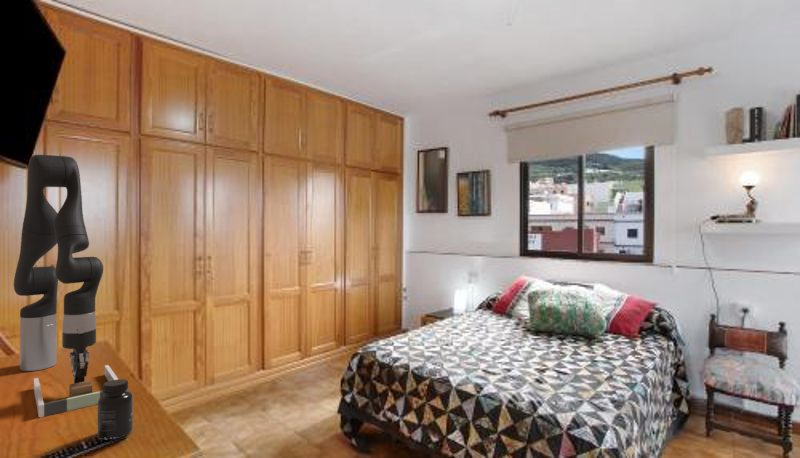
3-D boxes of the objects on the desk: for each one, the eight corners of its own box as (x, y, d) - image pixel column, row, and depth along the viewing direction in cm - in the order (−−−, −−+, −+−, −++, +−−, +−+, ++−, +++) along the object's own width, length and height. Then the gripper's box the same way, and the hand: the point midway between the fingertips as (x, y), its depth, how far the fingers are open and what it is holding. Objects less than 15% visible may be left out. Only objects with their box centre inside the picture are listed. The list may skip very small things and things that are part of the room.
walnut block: (69, 400, 115) (69, 384, 115) (89, 396, 118) (89, 380, 118) (71, 406, 111) (71, 389, 111) (92, 401, 114) (92, 385, 114)
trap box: (33, 388, 122) (33, 378, 122) (108, 374, 135) (108, 364, 134) (38, 417, 105) (38, 405, 105) (123, 397, 117) (124, 387, 117)
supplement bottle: (139, 431, 99) (139, 380, 99) (109, 444, 93) (109, 390, 93) (121, 424, 102) (121, 375, 102) (90, 437, 96) (90, 385, 96)
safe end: (66, 409, 109) (66, 398, 109) (99, 402, 114) (99, 391, 114) (66, 411, 108) (66, 399, 108) (99, 403, 113) (100, 392, 113)
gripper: (60, 326, 120) (59, 386, 120) (65, 335, 110) (64, 401, 110) (92, 322, 125) (92, 380, 125) (99, 331, 115) (99, 394, 116)
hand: (79, 390), depth 118 cm, fingers closed
